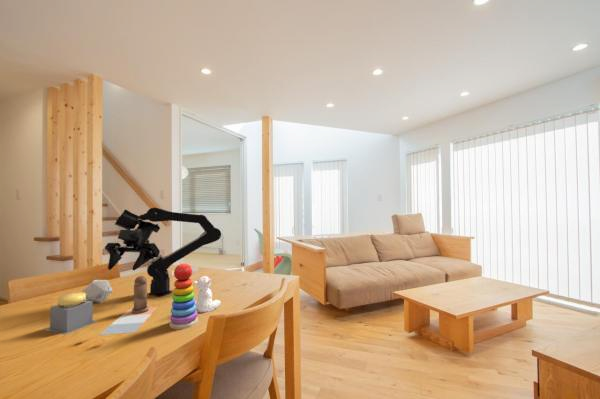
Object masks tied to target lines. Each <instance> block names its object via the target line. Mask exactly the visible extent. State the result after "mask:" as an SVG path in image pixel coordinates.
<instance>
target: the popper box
mask: <svg viewBox="0 0 600 399" xmlns="http://www.w3.org/2000/svg"><path fill="white" fill-rule="evenodd" d="M93 304H94V303H93V302H92V301H87V300H85V301H84V302H82V303H80V305H77V306H74V307H70V308H66V307H64V306H59V305H58V304H56V305H54V306H50V308H49V312H50V313H49V327H48V328H46V329H44V331H45V332H52V333H54V334H55V333H56V334H61V335H67V334H71V333H73V332H76V331H78V330H80V329H83V328H85V327H88V326H90V325H93V324H95V323H97V322H99V320H93V316H94V315H93V312H94V310H93V308H94V307H93Z"/></svg>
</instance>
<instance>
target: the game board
mask: <svg viewBox="0 0 600 399" xmlns="http://www.w3.org/2000/svg"><path fill="white" fill-rule="evenodd" d="M133 308H134V307H133ZM133 308H129V309H128V310H126V311H125V312H124V313H123V314H121V315H120V316H119V317H118V318H117V319H116V320H115V321H113V322H112V323H111V324H110V325H109V326H107V328H105V329H104V330H103V331H102V332H100V333H98V334H99V336H105V335H120V334H129V333H130V334H132V333H136V332H137V330H138V329H140V327H141V326H142V325H143V324H144V323H145V322H146V321H147V320H148V318H149V317H150V316H151V315H152V314H153V313H154V312H155V311H156V310H157V308H158V306H150V307H149V306H148V311H147V312H145V313H141V314H133V313H132V309H133Z"/></svg>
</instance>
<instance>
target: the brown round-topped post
mask: <svg viewBox="0 0 600 399" xmlns="http://www.w3.org/2000/svg"><path fill="white" fill-rule="evenodd" d="M133 282H134V285H133V309H132V313H133V314H141V313H145V312H147V311H148V307H149V306H148V280H147V277H145V276H144V275H140V276H137V277H136V278H135V280H134V281H133Z"/></svg>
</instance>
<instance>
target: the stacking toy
mask: <svg viewBox="0 0 600 399" xmlns="http://www.w3.org/2000/svg"><path fill="white" fill-rule="evenodd" d="M192 274H193V269H192V266H191V265H190V264H188V263H179V265H177V266H176V267H175V268H174V271H173V275H174V278H175V279H176V280H175V281H174V282H173V286H174V289H173V293H174V294H173V295H172V300H173V301H172V302H171V306H172V307H171V309H170V313H171V316H170V322H169V324H168V326H169V327H170V328H171V329H174V330H183V329H188V328H189V329H190V328H192V327H194V326H195V325H197V324H198V323H199V318H198V313H199V312H197V311H196V306H195V302H196V299H195V298H194V297H195V293H194V286H193V280H192V279H191V276H192Z"/></svg>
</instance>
